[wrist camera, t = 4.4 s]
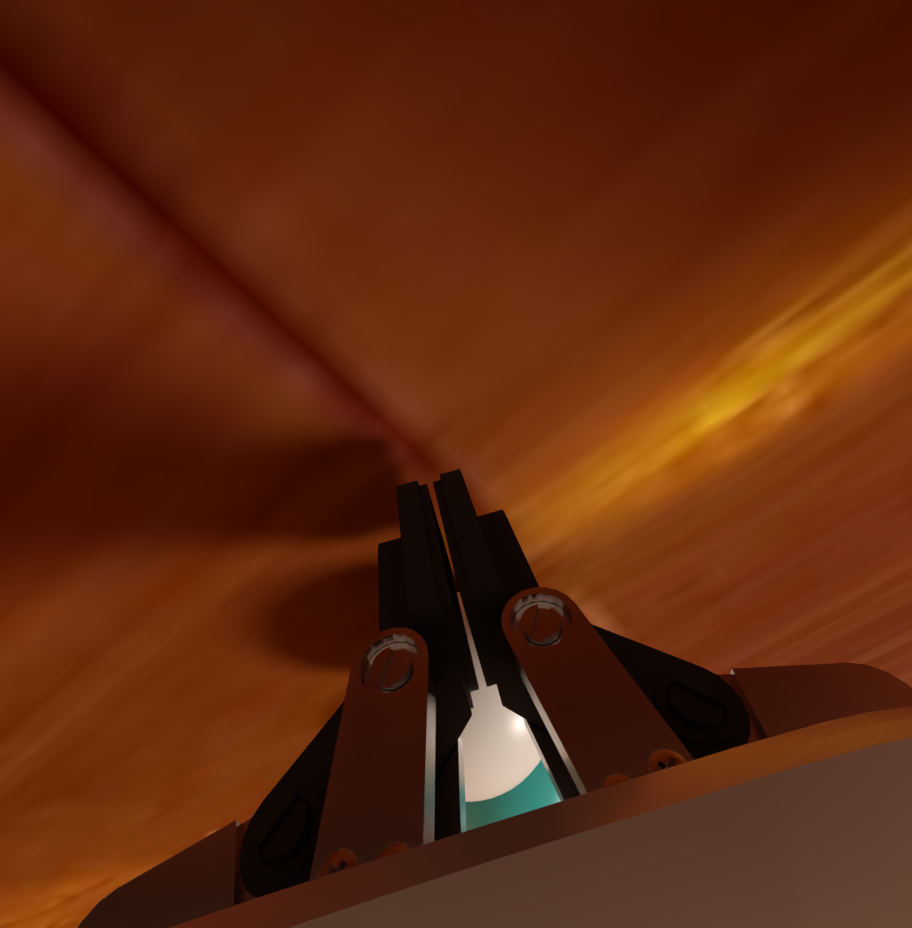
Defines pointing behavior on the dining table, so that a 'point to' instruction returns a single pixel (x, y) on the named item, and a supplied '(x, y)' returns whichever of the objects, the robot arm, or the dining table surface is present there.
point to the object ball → (514, 800)
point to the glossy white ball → (493, 740)
